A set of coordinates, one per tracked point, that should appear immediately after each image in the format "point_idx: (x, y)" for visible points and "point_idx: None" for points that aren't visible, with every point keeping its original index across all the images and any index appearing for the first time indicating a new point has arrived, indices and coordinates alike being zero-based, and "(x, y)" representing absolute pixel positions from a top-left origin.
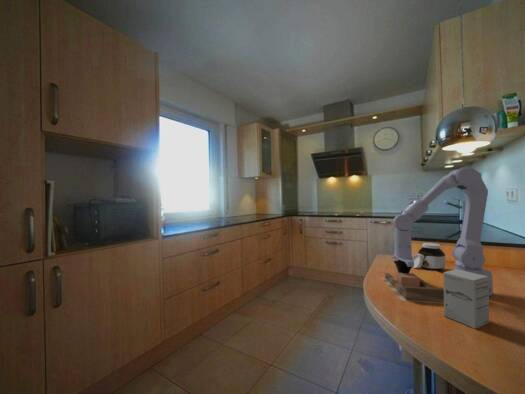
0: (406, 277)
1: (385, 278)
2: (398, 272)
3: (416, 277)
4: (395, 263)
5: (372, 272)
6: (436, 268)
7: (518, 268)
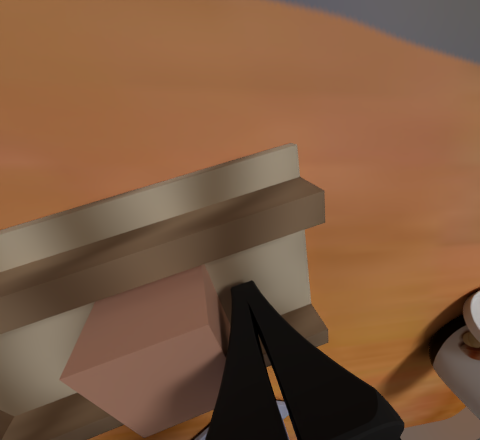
0: (93, 397)
1: (277, 182)
2: (268, 315)
3: (143, 428)
4: (318, 409)
5: (449, 67)
6: (434, 360)
7: (430, 421)
